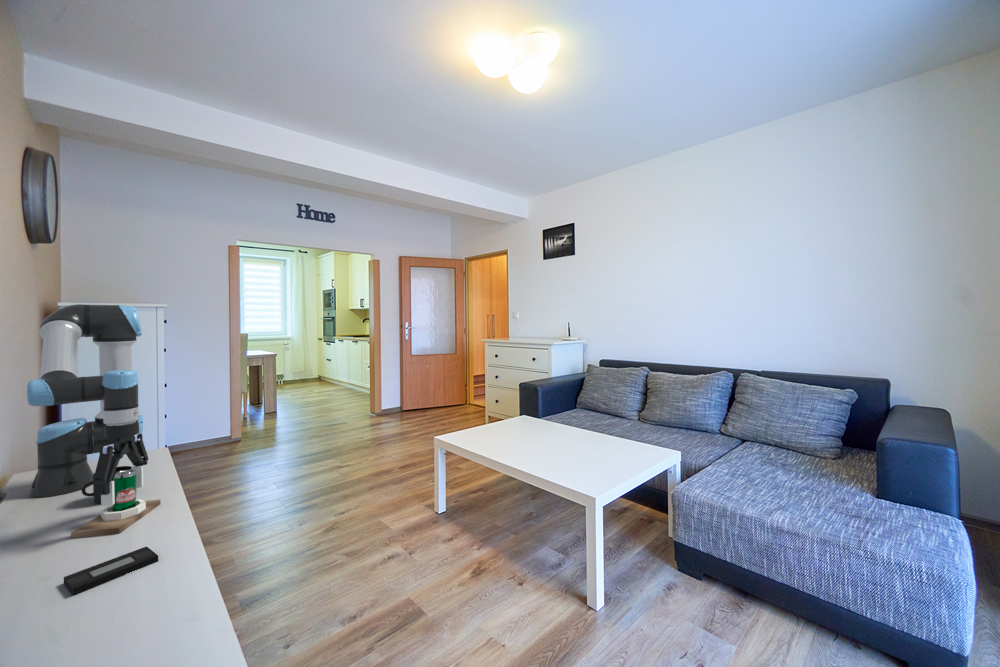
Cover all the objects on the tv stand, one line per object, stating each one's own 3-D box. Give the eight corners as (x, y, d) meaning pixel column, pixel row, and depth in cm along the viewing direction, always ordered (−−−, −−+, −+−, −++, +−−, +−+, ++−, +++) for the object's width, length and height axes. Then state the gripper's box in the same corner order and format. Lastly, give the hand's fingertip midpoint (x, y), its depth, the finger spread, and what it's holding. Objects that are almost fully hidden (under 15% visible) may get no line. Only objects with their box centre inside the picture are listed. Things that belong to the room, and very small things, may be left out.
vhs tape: (63, 586, 87) (63, 577, 87) (146, 554, 99) (146, 546, 99) (73, 598, 83) (72, 589, 83) (158, 563, 95) (158, 555, 95)
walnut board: (119, 507, 123) (119, 503, 123) (160, 504, 126) (160, 499, 126) (71, 538, 106) (71, 532, 106) (119, 533, 108) (119, 528, 108)
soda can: (114, 517, 113) (116, 476, 114) (109, 512, 116) (111, 472, 116) (137, 511, 118) (139, 471, 118) (132, 507, 120) (134, 467, 121)
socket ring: (117, 507, 120) (116, 501, 120) (151, 504, 122) (151, 498, 122) (93, 522, 111) (93, 515, 111) (131, 518, 113) (131, 511, 113)
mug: (81, 501, 128) (80, 473, 128) (131, 489, 137) (130, 463, 137) (82, 510, 122) (82, 481, 122) (135, 497, 131) (134, 470, 131)
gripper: (106, 432, 105) (108, 513, 106) (161, 413, 129) (163, 479, 129) (72, 434, 104) (74, 516, 104) (134, 414, 127) (136, 481, 127)
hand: (123, 495), depth 117 cm, fingers open, 11 cm apart
